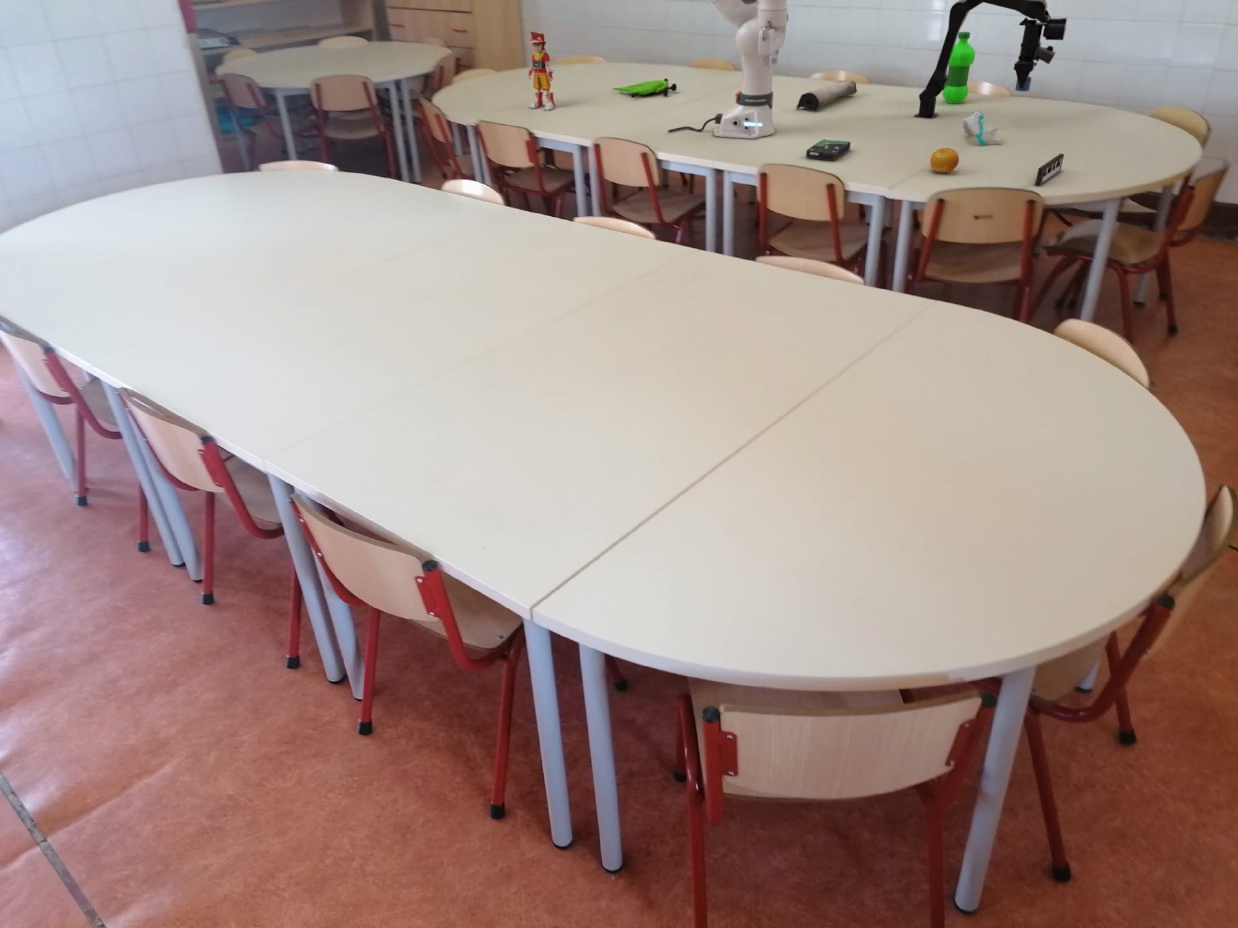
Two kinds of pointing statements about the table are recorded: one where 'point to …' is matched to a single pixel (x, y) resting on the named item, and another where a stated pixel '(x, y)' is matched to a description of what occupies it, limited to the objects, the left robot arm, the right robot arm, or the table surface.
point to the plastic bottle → (959, 70)
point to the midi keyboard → (1049, 169)
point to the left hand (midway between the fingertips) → (770, 67)
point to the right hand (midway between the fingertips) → (1022, 87)
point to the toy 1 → (541, 71)
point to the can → (1026, 86)
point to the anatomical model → (979, 129)
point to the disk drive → (828, 149)
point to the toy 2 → (648, 88)
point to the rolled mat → (826, 94)
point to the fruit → (944, 160)
